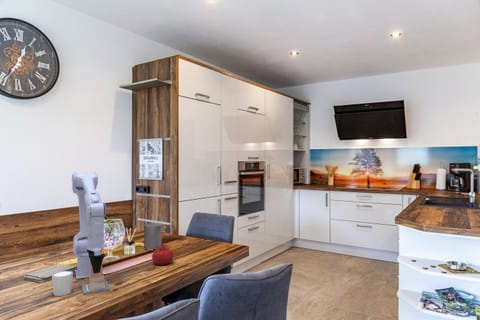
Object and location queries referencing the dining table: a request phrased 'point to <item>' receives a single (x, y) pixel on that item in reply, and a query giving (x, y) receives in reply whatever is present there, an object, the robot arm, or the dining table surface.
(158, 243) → the pillar candle
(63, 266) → the washcloth
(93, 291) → the base plate
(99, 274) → the top block
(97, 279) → the base block
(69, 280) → the grey cylinder
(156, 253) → the pomegranate
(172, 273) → the dining table surface
